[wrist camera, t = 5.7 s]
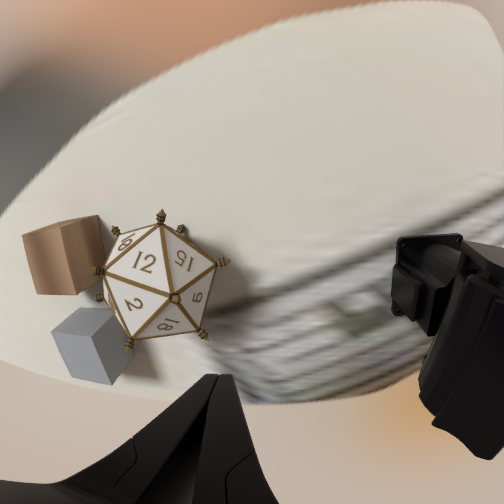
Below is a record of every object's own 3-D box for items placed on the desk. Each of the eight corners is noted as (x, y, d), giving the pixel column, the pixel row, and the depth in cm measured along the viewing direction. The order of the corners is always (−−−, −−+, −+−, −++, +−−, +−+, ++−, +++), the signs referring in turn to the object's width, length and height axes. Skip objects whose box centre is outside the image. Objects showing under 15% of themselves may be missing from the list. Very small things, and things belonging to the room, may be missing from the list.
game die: (194, 269, 25) (155, 375, 19) (116, 214, 21) (57, 322, 15) (266, 236, 19) (229, 384, 13) (168, 153, 15) (73, 306, 9)
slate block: (119, 308, 23) (91, 336, 18) (134, 353, 24) (112, 385, 19) (80, 307, 23) (50, 331, 18) (96, 349, 25) (71, 377, 20)
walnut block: (98, 214, 20) (59, 227, 16) (109, 271, 22) (76, 295, 17) (58, 222, 21) (21, 235, 16) (70, 273, 22) (37, 294, 18)
